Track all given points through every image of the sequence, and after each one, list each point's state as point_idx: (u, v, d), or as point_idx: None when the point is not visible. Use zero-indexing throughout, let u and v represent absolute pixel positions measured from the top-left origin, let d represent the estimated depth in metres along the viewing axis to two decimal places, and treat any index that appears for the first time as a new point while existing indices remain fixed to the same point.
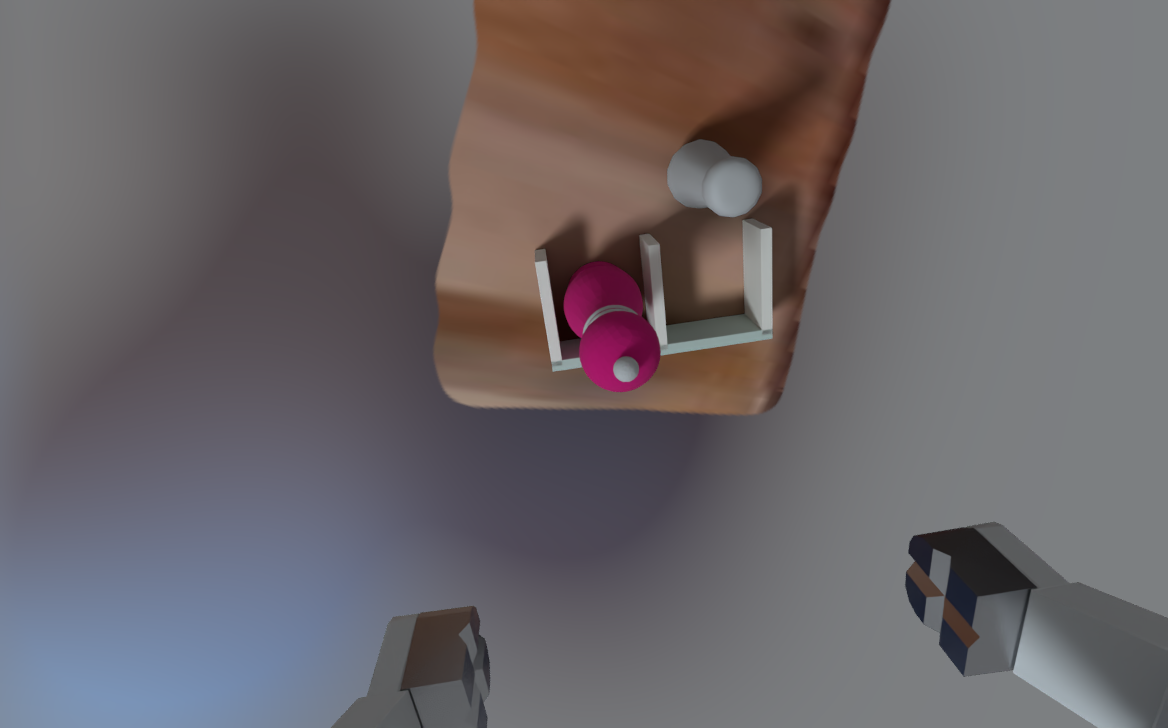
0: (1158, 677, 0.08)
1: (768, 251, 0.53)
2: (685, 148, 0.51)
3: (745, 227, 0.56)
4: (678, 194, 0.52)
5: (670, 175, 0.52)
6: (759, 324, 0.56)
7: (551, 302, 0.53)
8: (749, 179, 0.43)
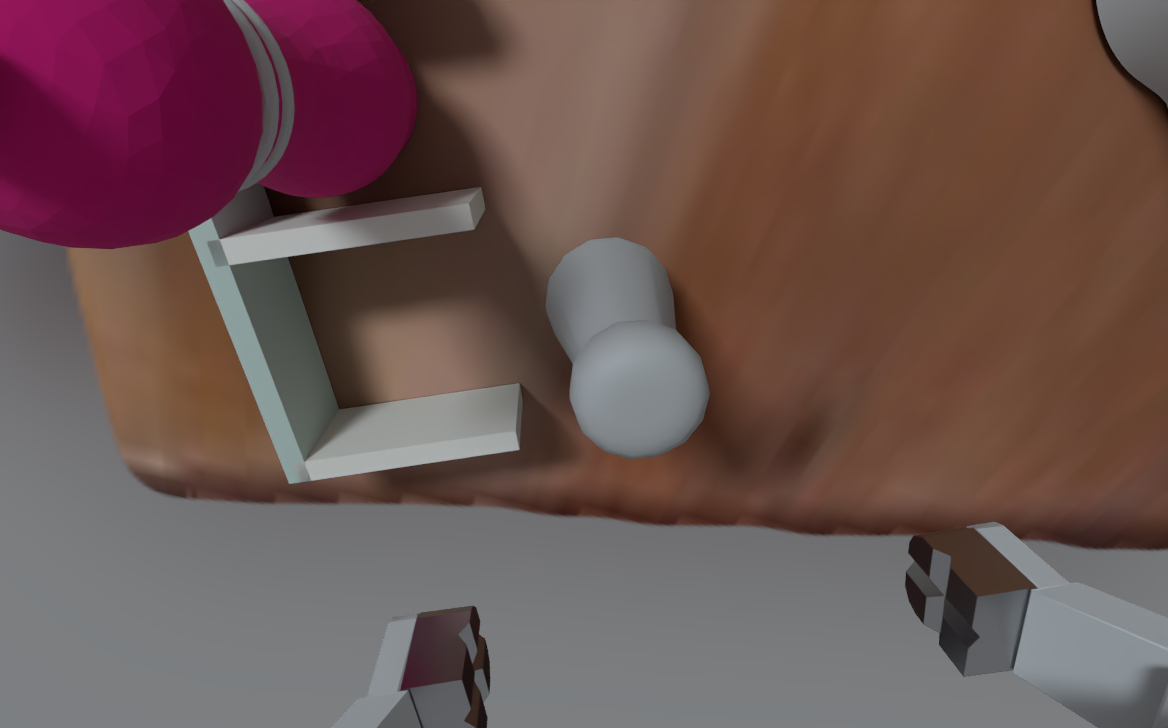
0: (1158, 677, 0.08)
1: (472, 451, 0.27)
2: (662, 270, 0.26)
3: (507, 391, 0.30)
4: (577, 263, 0.25)
5: (612, 244, 0.25)
6: (317, 453, 0.27)
7: None
8: (666, 433, 0.18)
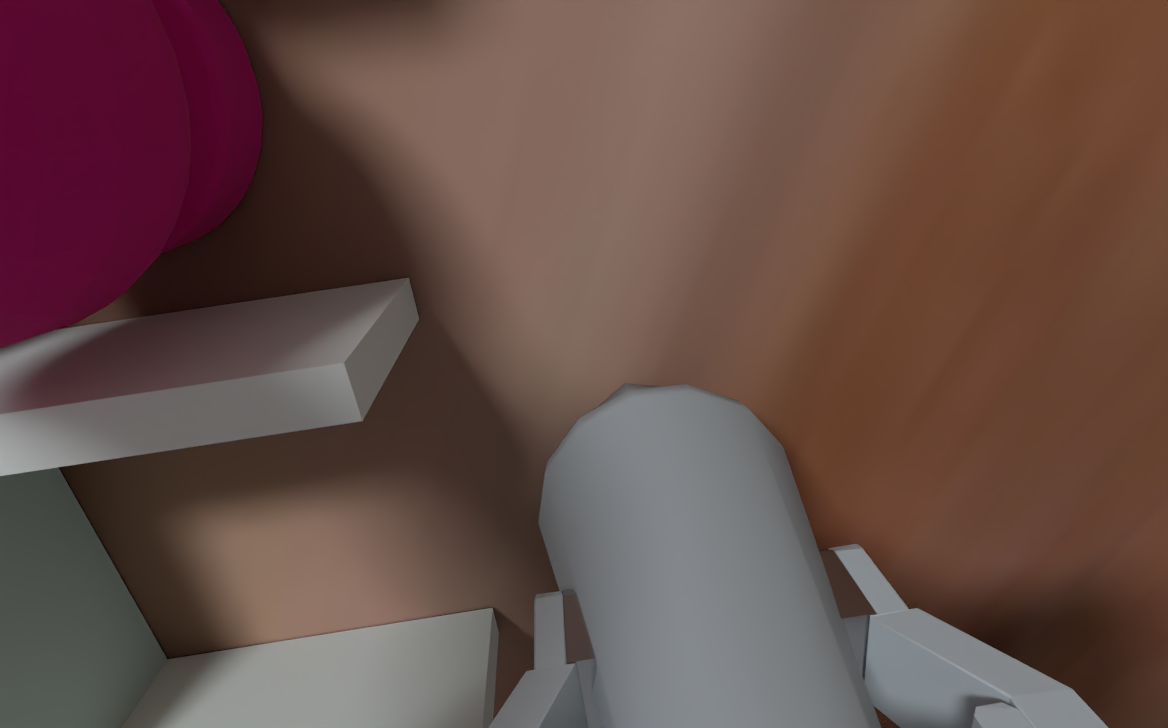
0: (975, 707, 0.08)
1: None
2: (783, 459, 0.12)
3: (470, 634, 0.17)
4: (607, 462, 0.11)
5: (681, 411, 0.12)
6: None
7: None
8: None
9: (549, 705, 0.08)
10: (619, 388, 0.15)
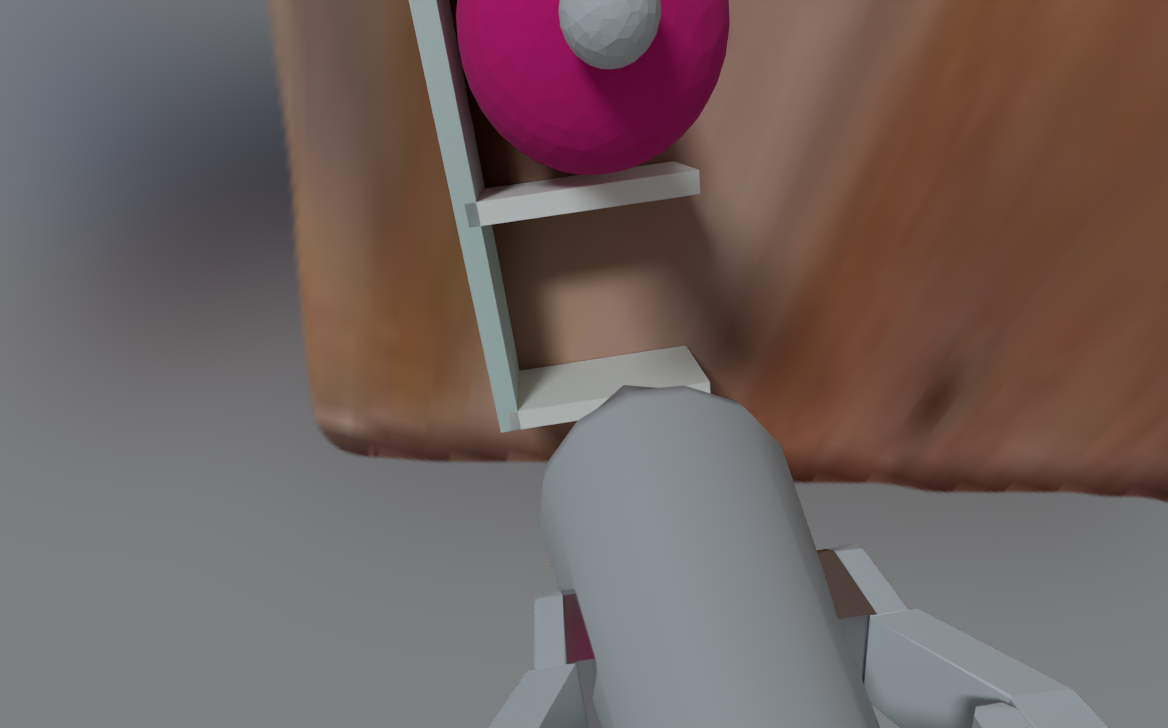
0: (975, 707, 0.08)
1: None
2: (781, 459, 0.12)
3: (679, 352, 0.33)
4: (605, 463, 0.11)
5: (678, 412, 0.12)
6: (525, 404, 0.29)
7: None
8: None
9: (549, 704, 0.08)
10: (618, 390, 0.15)
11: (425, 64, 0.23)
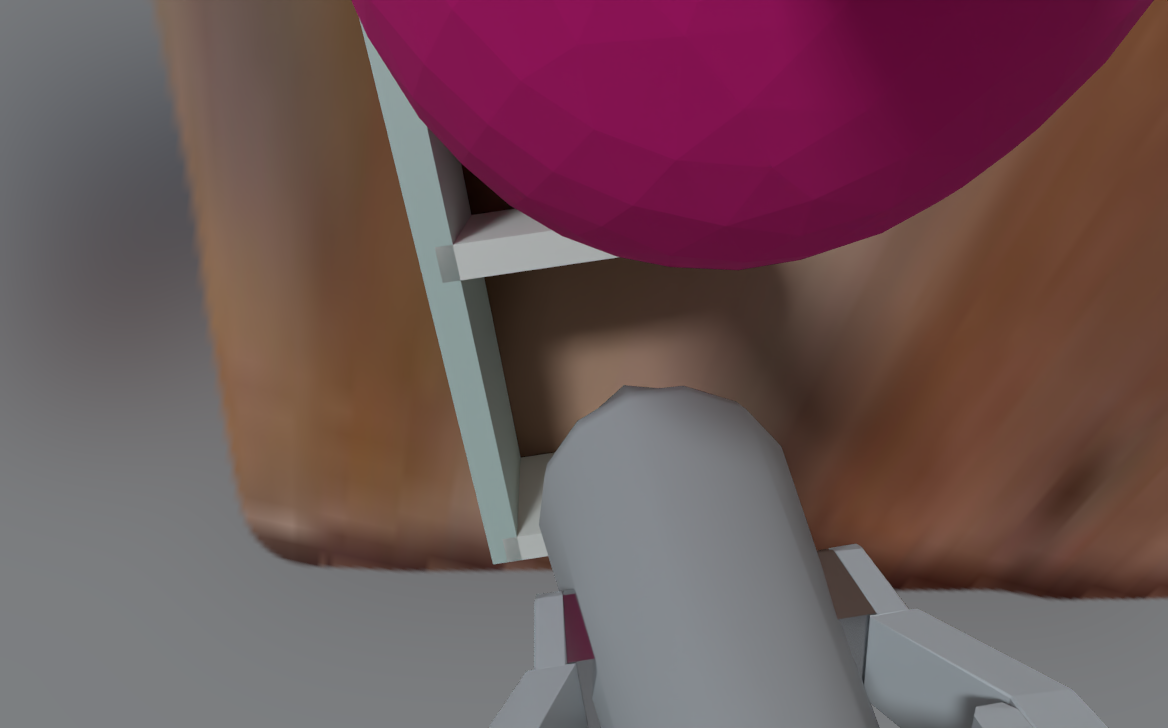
0: (975, 707, 0.08)
1: None
2: (781, 459, 0.12)
3: None
4: (606, 464, 0.11)
5: (678, 413, 0.12)
6: (527, 523, 0.21)
7: None
8: None
9: (549, 705, 0.08)
10: (618, 390, 0.15)
11: None
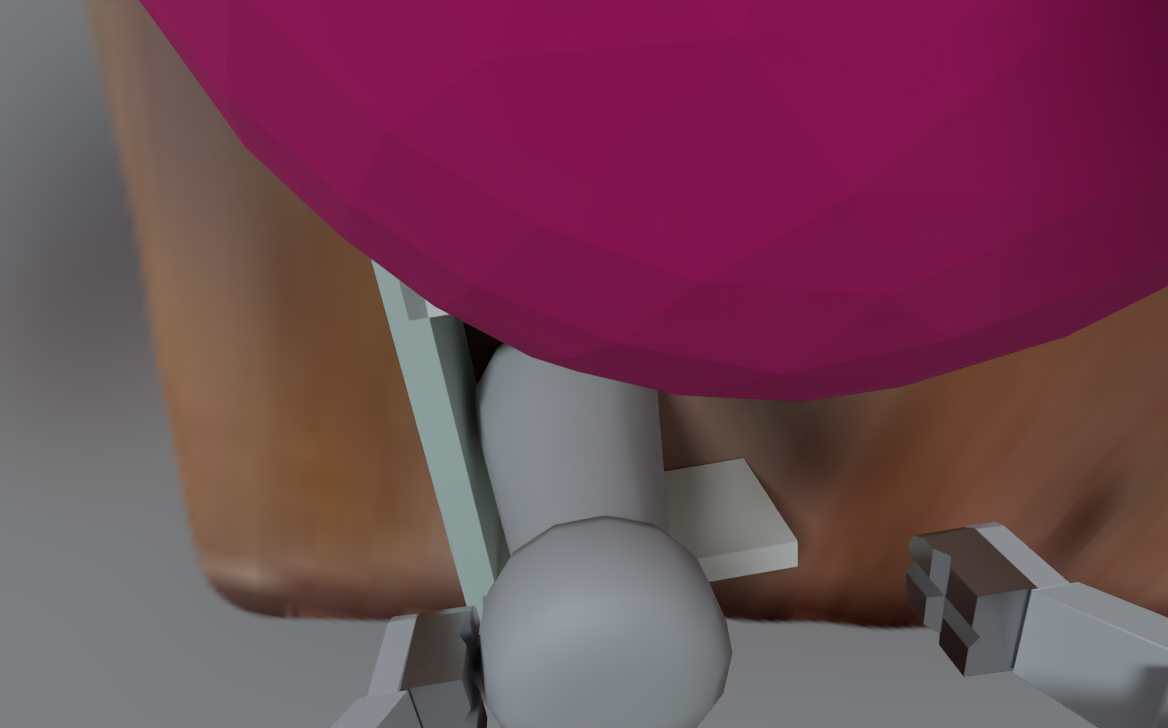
0: (1158, 677, 0.08)
1: (733, 570, 0.19)
2: None
3: (736, 472, 0.22)
4: (509, 368, 0.17)
5: None
6: None
7: None
8: None
9: None
10: None
11: None
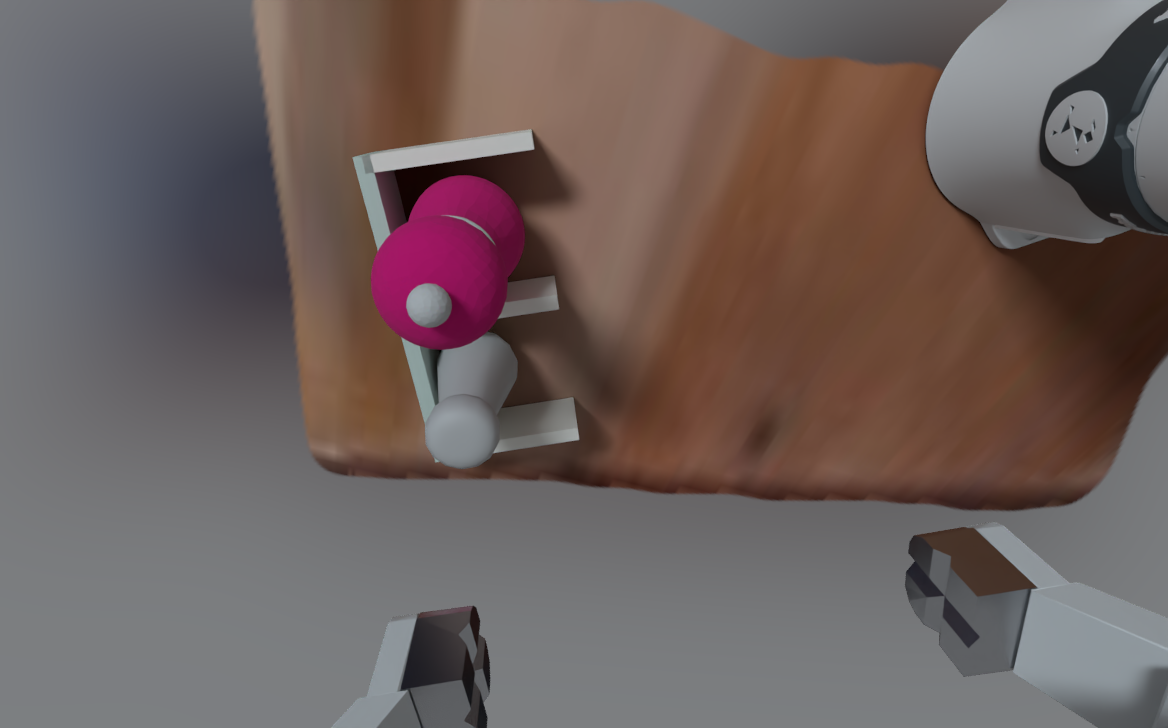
0: (1157, 677, 0.08)
1: (550, 440, 0.43)
2: (505, 348, 0.42)
3: (566, 403, 0.46)
4: (449, 350, 0.41)
5: None
6: None
7: (469, 156, 0.35)
8: (474, 454, 0.34)
9: None
10: None
11: (376, 236, 0.36)
